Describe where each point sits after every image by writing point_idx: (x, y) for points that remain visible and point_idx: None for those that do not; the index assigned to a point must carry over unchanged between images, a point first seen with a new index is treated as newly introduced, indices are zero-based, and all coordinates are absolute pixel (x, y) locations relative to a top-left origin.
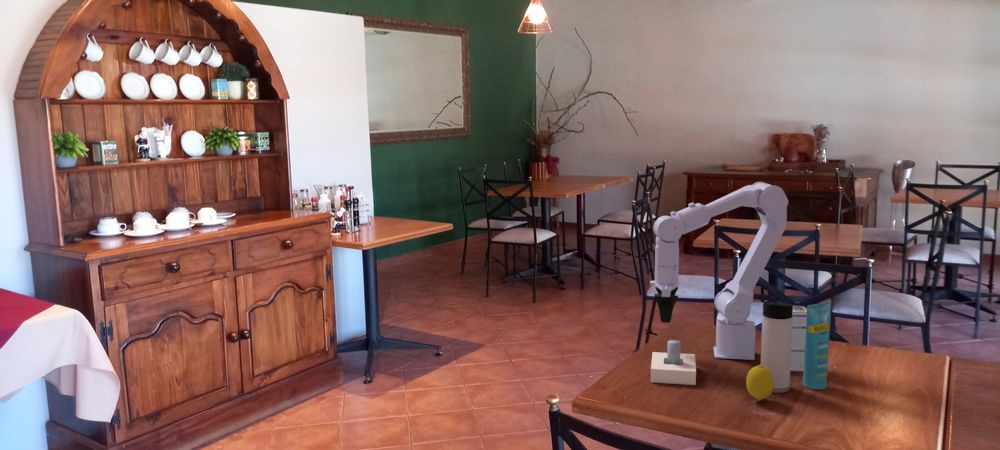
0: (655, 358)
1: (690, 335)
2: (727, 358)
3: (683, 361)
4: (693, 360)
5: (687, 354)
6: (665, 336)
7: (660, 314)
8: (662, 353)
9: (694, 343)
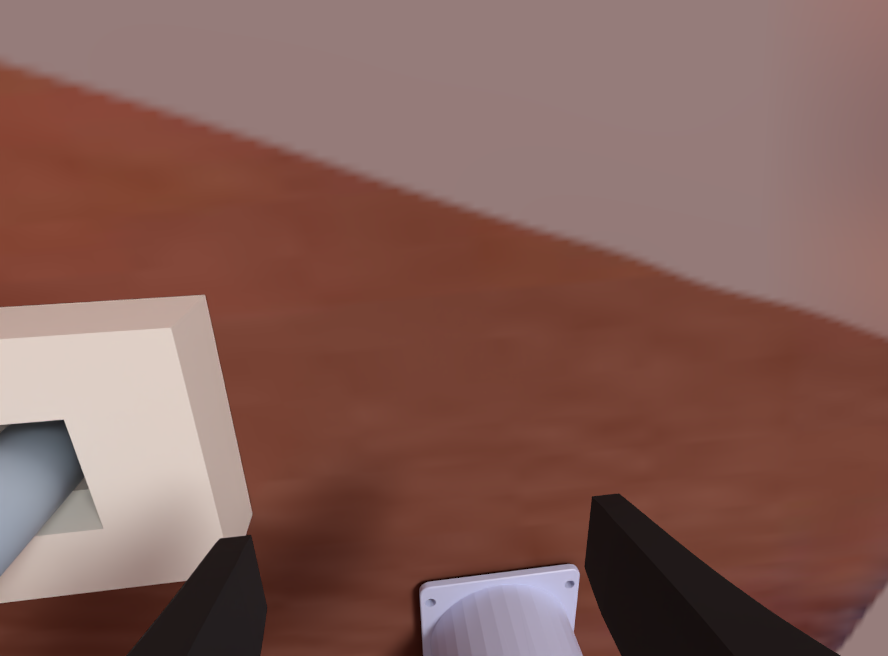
0: (11, 365)
1: (793, 445)
2: (421, 626)
3: (47, 536)
4: (99, 582)
5: (211, 540)
6: (787, 320)
7: (151, 630)
8: (166, 399)
9: (656, 475)
